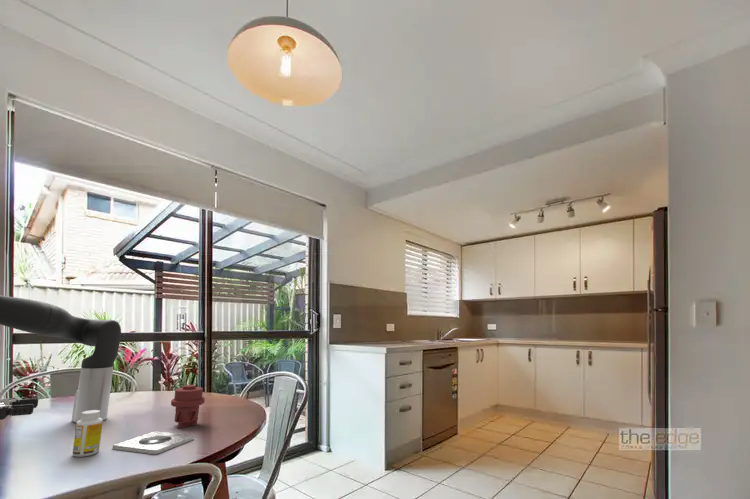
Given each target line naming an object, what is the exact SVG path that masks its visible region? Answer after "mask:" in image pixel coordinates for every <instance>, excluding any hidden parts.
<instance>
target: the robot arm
mask: <svg viewBox="0 0 750 499" xmlns="http://www.w3.org/2000/svg"><path fill="white" fill-rule="evenodd" d="M0 325H1V326H4V327H7V328H10V329H15V330H18V331H22V332H26V333H30V334H34V335H39V336H46V337H51V338H63V339H68V340H70V341H73V342H76V343H79V344H83V346H84V345H86V346H88V347H94V351H93V353H92V354H91V355H89V356H87V357H84V358H83V359H82V361H81V365H80V374H79V379H78V388H77V390H76V391H75V394H74V400H73V408H72V414H71V421H72V422H74V423H77V422H78V421H79V420H81V414H82V412H84V411H89V410H100V417H99V418H102V420H103V421H104V420H107V418H108V412H109V406H110V397H111V396H110V395H111V390H112V389H111V388H112V381H113V372H114V366H115V361H116V359H117V358H118V357H117V356H118V355H119V354H118V353H119V349H120V348H119V347H120V342H121V337H122V329H121V325H120V323H119V322H118V321H117V320H115V319H89V318H83V317H82V318H81V317H77V316H75V315H72V314H71V313H69V311H68V310H66V309H65V308H62V307H60V306H57V305H54V304H52V303H48V302H43V301H40V300H39V301H38V300H36V299H35V300H34V299H28V298H22V297H15V296H7V295H2V294H0ZM38 404H39V398H36V397H35V398H23V399H20V398H17V397H10V398H9V397H8V398H7V397H5V398H0V421H1V420H3V421H4V420H5V419H8V418H11V417H18V416H29V415H32V414H33V413H34V410H35V409H37V407H38Z"/></svg>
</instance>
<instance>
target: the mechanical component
mask: <svg viewBox="0 0 750 499" xmlns="http://www.w3.org/2000/svg"><path fill="white" fill-rule="evenodd" d="M203 391H204V390H203V387H200V386H197V385H196V384H185V385H183V386H182V387H180V388H179V387H178V388H176V389H174V398H172V399H171V401H170V405H171V406H172V407H175V410H174V411H175V413H174V414H175V415H174V422H175V423H177V424H178V425H177V428H179V429H181V428H185V427H189V426H197V425H198V420H199V412H200V411H199V410H200V406H202V405H204V403H205V399H206V398H205V397H204V396H203V393H204V392H203Z"/></svg>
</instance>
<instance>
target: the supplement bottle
mask: <svg viewBox="0 0 750 499" xmlns="http://www.w3.org/2000/svg"><path fill="white" fill-rule="evenodd" d="M99 417H100V410H89V411H84V412H82V414H81V420H79V421H78V422H77V423H76V424H75V431H74V438H73V439H74V440H73V446H72V455H73V456H74V457H76V458H83V457H89V456H94V455H96V454H97V453H99V450H100V448H101V447H100V446H101V438H102V430H103V423H104V422H103V421H104V420H102V418H99Z"/></svg>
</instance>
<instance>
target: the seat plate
mask: <svg viewBox="0 0 750 499" xmlns="http://www.w3.org/2000/svg"><path fill="white" fill-rule="evenodd" d="M193 440H195V435H193V434H183V433H174V432H164V431H157V430H155V431H154V430H153V431H152V432H149V433H145V434H143V435H140V436H139V435H138V436H136V437H133V438H130V439H127V440H124V441H122V442H118V443H115V444H113V445H112V450H116V451H122V452H123V451H125V452H131V453H132V452H133V453H140V454H146V455H155V456H156V455H158V454H161V453H163V452H165V451H168V450H171V449H174V448H176V447H179V446H181V445H183V444H186V443H188V442H191V441H193Z"/></svg>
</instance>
